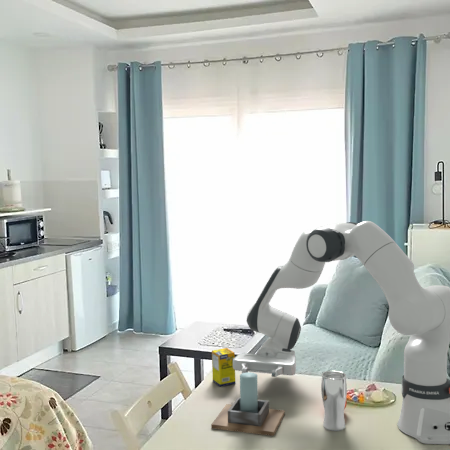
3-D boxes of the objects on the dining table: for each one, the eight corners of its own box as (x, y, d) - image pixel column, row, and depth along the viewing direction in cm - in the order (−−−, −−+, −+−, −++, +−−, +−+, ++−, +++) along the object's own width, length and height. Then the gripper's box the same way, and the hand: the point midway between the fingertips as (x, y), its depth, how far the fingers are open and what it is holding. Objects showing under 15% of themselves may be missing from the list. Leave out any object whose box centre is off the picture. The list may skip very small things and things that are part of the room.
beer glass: (347, 432, 159) (346, 379, 157) (321, 431, 160) (320, 378, 158) (346, 421, 165) (346, 370, 164) (322, 419, 167) (321, 369, 165)
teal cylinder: (259, 413, 169) (259, 373, 167) (255, 420, 164) (254, 379, 163) (243, 411, 170) (242, 371, 169) (238, 418, 166) (237, 377, 164)
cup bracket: (284, 414, 171) (284, 399, 171) (273, 436, 158) (273, 419, 157) (226, 407, 177) (226, 393, 176) (211, 428, 164) (210, 412, 163)
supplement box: (235, 383, 195) (235, 352, 194) (219, 387, 193) (218, 355, 192) (228, 377, 201) (227, 347, 200) (212, 381, 198) (211, 350, 197)
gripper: (238, 346, 194) (226, 360, 181) (299, 351, 188) (291, 366, 175) (239, 364, 195) (226, 379, 182) (299, 370, 188) (291, 386, 175)
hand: (258, 373), depth 178 cm, fingers open, 8 cm apart
